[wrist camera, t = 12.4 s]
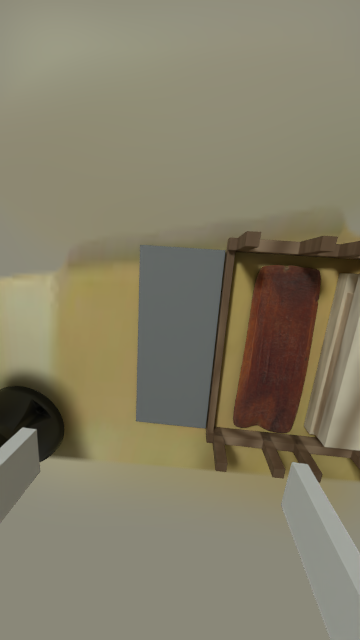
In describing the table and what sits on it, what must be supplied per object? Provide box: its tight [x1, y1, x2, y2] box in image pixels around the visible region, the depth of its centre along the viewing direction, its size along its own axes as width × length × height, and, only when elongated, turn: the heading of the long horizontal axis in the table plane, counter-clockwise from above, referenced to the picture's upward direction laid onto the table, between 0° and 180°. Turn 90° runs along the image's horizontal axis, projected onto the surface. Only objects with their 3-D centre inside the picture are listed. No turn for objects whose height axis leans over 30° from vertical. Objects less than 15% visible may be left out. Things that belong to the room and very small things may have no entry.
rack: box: [206, 231, 360, 482], centre depth 30 cm, size 25×32×7 cm
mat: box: [136, 245, 225, 428], centre depth 34 cm, size 12×29×1 cm, turn 176°
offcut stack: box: [304, 273, 360, 451], centre depth 30 cm, size 6×25×5 cm, turn 176°
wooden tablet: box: [233, 265, 321, 433], centre depth 32 cm, size 27×10×2 cm, turn 175°
